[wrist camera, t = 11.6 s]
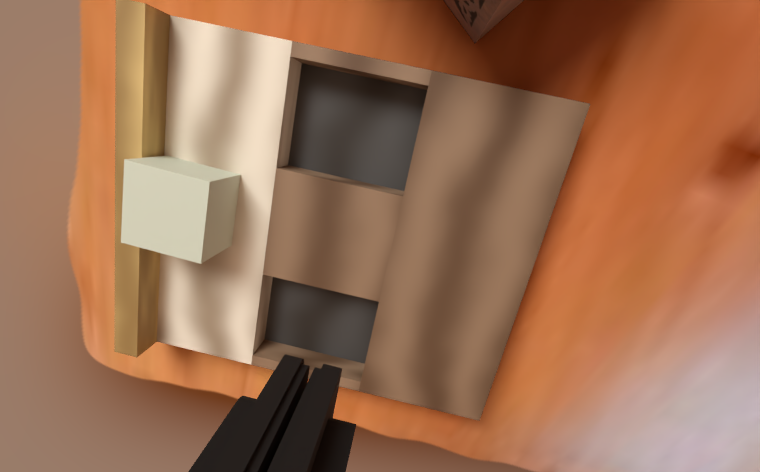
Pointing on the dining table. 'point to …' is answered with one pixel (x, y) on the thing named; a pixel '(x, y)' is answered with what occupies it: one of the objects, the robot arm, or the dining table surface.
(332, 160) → the box
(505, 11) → the tissue box cover
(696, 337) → the dining table surface
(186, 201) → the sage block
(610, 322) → the dining table surface
